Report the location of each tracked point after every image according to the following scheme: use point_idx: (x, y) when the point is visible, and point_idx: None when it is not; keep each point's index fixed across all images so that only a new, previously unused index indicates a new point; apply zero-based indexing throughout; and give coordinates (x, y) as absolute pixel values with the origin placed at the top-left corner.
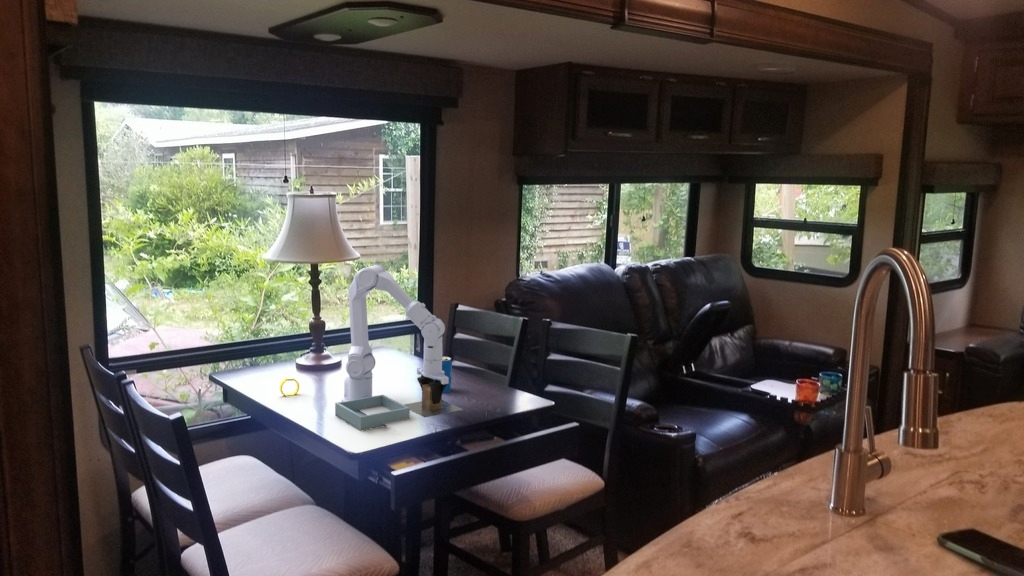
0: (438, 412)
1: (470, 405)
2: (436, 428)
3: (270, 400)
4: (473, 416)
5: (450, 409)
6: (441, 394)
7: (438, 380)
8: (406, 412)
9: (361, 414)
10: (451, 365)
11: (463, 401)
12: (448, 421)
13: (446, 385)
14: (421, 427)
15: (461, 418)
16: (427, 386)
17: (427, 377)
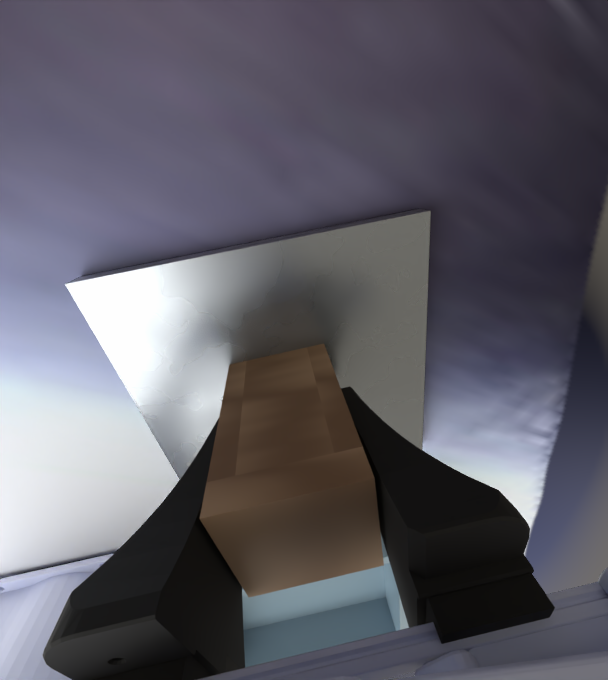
0: (394, 385)
1: (268, 16)
2: (526, 427)
3: None
4: (528, 170)
5: (380, 301)
6: (387, 429)
7: (501, 643)
8: None
9: (261, 597)
10: None
11: (106, 17)
12: (492, 356)
13: (476, 480)
14: (476, 468)
15: (502, 272)
16: (319, 574)
17: (202, 668)
